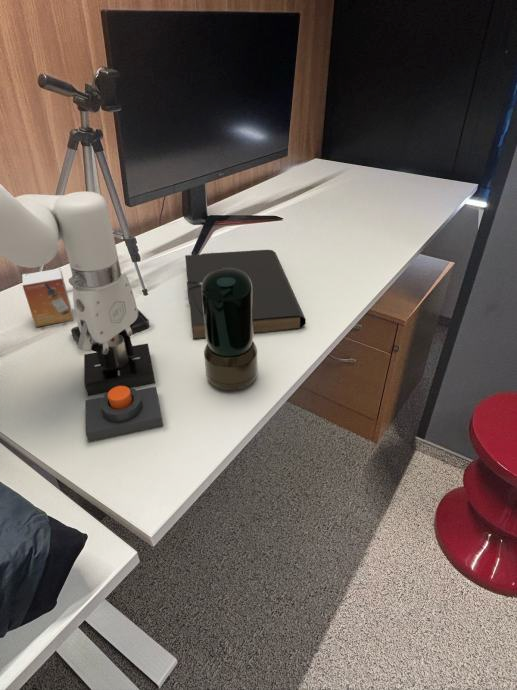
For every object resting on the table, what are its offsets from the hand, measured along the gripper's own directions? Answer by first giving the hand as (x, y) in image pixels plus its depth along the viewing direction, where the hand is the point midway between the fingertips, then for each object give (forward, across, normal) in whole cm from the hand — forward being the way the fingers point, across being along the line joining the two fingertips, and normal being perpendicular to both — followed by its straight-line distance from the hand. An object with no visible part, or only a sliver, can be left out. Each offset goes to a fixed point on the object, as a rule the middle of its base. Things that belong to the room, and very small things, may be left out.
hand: (117, 359), depth 89 cm
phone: (+4, +10, +12) cm, 17 cm away
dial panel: (+4, 0, 0) cm, 4 cm away
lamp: (+4, +9, -19) cm, 21 cm away
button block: (+4, -8, -8) cm, 13 cm away
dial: (+1, 0, 0) cm, 1 cm away
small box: (+4, +8, +27) cm, 28 cm away
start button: (0, -8, -9) cm, 12 cm away
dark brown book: (+4, +36, -4) cm, 37 cm away
